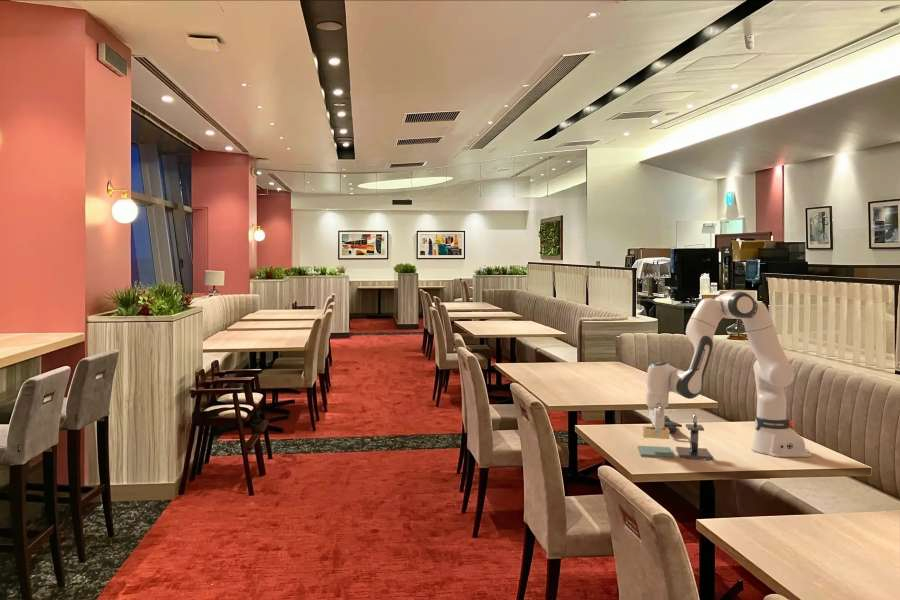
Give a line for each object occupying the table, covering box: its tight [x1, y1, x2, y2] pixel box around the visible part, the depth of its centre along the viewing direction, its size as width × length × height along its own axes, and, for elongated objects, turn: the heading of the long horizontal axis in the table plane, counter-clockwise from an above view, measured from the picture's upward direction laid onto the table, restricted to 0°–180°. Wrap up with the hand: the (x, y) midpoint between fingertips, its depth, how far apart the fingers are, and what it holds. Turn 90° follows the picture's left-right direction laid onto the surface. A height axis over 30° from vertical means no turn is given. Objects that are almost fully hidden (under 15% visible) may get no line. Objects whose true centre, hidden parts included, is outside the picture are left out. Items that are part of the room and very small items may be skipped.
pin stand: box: [675, 414, 713, 461], centre depth 277 cm, size 12×12×16 cm
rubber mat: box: [637, 445, 676, 459], centre depth 280 cm, size 13×13×1 cm
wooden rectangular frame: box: [642, 425, 671, 440], centre depth 280 cm, size 10×5×4 cm, turn 80°
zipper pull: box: [664, 415, 683, 434], centre depth 315 cm, size 9×7×25 cm
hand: (655, 434), depth 280 cm, fingers closed on wooden rectangular frame, 5 cm apart
